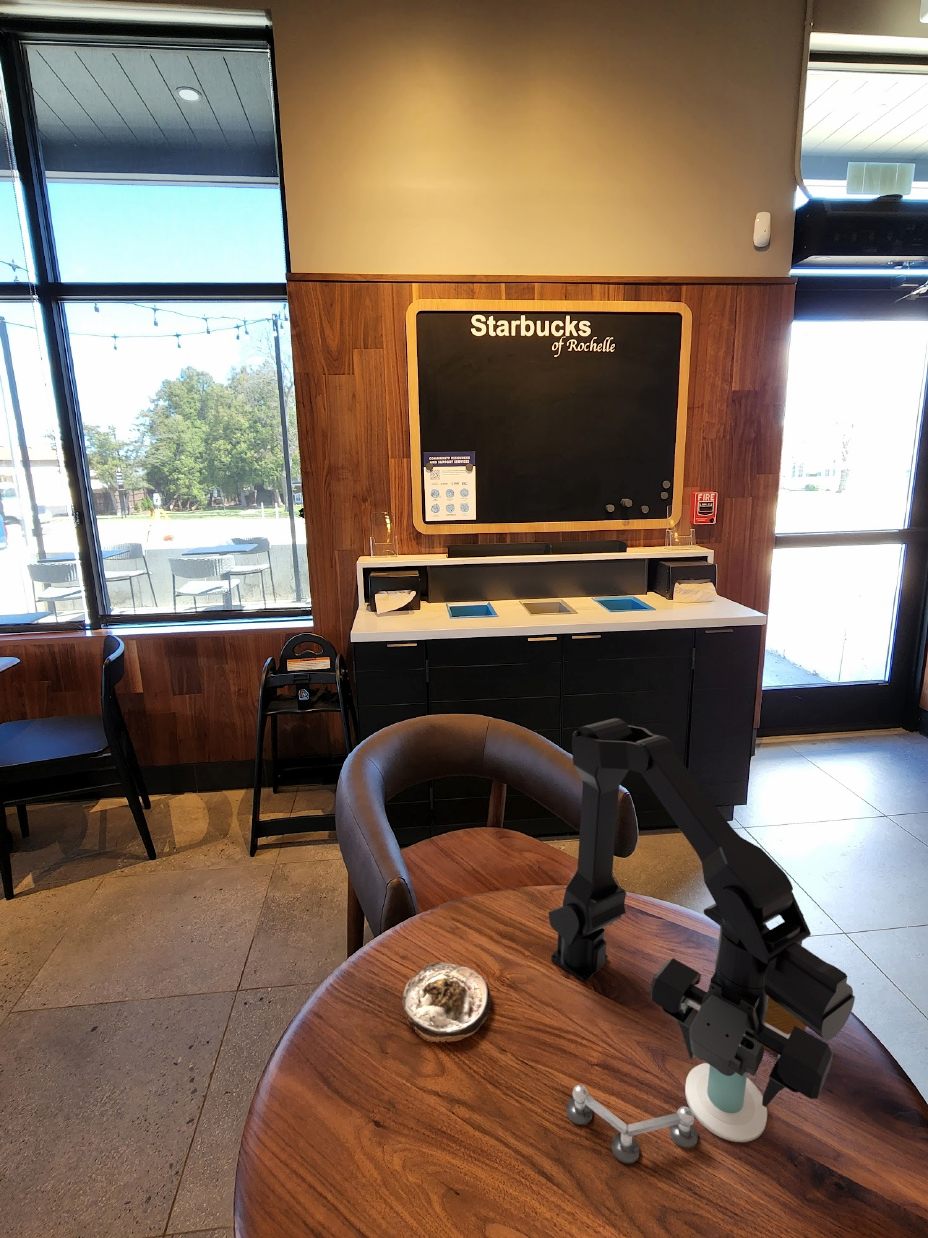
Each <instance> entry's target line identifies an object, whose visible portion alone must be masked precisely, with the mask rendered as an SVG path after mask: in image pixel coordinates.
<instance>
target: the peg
mask: <svg viewBox="0 0 928 1238" xmlns="http://www.w3.org/2000/svg"><path fill="white" fill-rule="evenodd" d="M747 1078H748V1073H747V1072H745V1073H744V1075H743V1076H741V1075H739V1074H737V1073H736V1072H735V1074H734V1075H732V1076H726V1075H724V1074H722V1073H720V1072H719V1071H718V1070H717V1069H716V1068H714V1067H713V1066H711V1065H710V1069H709V1078H708V1087H707V1094H708V1097H709V1099H710V1101H711V1102H712V1103H713V1104H714V1106H716V1107H717V1108H718V1109H720V1110H722V1111H724V1112H727V1113H737V1112H739V1111H740V1110H741V1109H742V1107H743V1103H744V1095H745V1087H746V1079H747Z"/></svg>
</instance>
